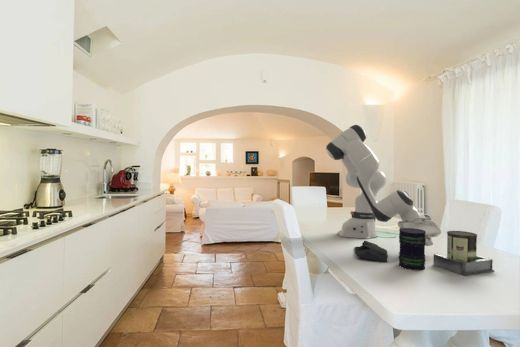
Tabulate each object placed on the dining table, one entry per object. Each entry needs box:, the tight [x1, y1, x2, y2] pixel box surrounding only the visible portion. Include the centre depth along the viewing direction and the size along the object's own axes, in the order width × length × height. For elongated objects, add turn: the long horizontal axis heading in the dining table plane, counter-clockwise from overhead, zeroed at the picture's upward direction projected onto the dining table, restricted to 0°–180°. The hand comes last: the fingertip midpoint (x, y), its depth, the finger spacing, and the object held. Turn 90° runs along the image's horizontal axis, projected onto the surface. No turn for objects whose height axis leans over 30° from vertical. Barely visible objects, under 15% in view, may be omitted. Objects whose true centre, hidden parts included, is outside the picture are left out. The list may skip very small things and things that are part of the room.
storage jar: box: [398, 228, 426, 271], centre depth 126 cm, size 10×10×15 cm
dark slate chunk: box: [354, 240, 389, 263], centre depth 143 cm, size 15×22×5 cm
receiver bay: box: [432, 253, 495, 277], centre depth 125 cm, size 14×16×4 cm
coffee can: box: [446, 230, 478, 262], centre depth 126 cm, size 10×10×14 cm
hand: (430, 245), depth 140 cm, fingers closed
